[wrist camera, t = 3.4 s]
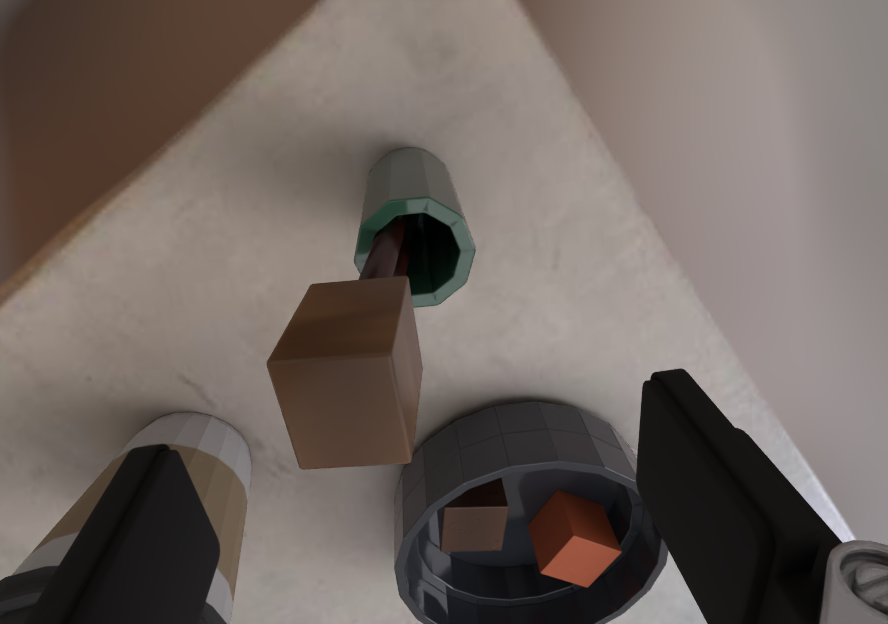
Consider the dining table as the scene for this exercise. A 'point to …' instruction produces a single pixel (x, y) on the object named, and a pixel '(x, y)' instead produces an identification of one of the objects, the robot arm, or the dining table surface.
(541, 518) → the terracotta block
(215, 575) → the coffee cup
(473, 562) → the bowl
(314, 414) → the wooden cube mallet
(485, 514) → the walnut block
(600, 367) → the dining table surface
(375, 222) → the holder
